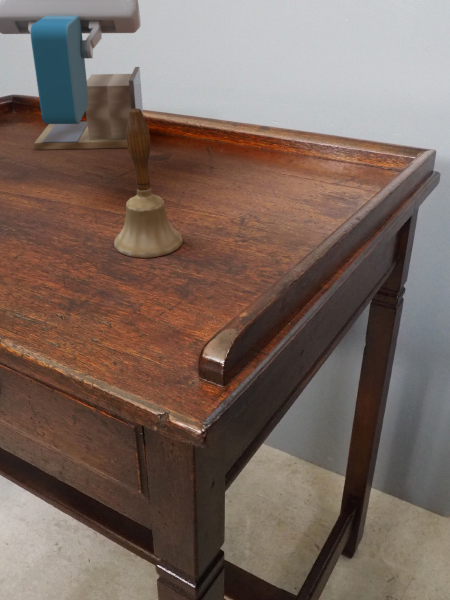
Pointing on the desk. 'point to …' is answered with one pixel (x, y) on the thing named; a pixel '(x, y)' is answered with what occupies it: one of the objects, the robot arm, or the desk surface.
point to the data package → (60, 69)
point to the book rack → (99, 115)
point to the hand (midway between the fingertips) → (64, 56)
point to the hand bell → (144, 203)
